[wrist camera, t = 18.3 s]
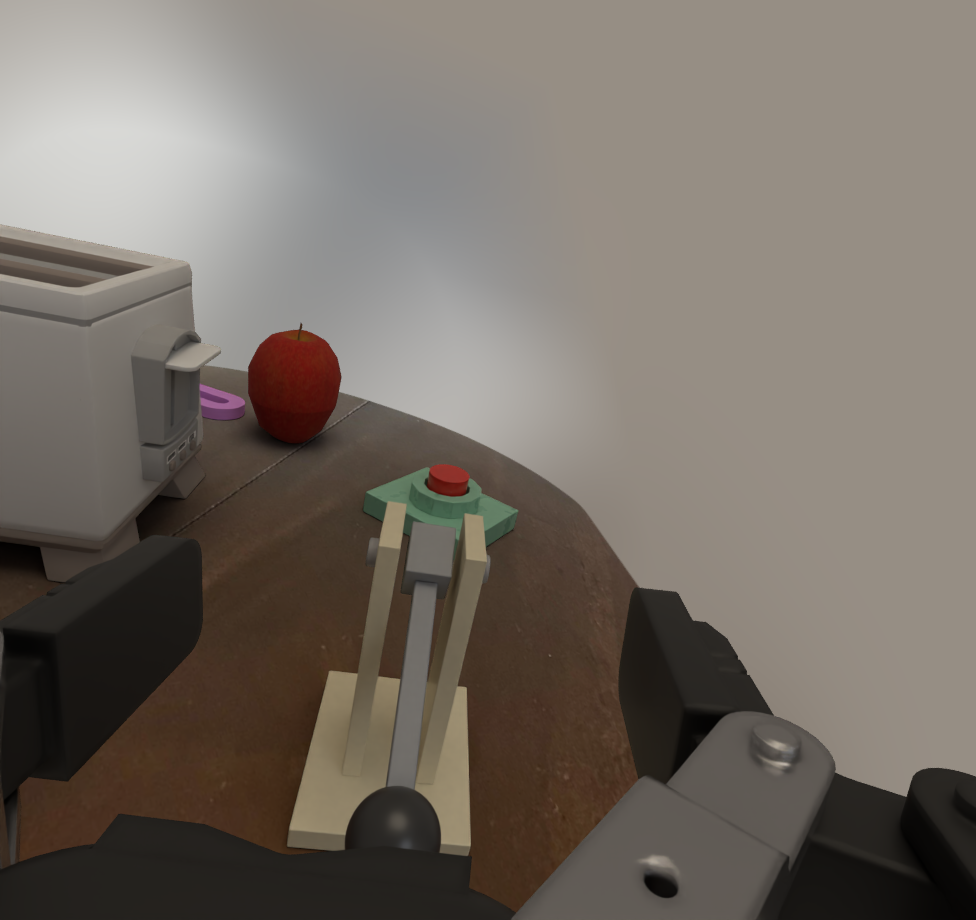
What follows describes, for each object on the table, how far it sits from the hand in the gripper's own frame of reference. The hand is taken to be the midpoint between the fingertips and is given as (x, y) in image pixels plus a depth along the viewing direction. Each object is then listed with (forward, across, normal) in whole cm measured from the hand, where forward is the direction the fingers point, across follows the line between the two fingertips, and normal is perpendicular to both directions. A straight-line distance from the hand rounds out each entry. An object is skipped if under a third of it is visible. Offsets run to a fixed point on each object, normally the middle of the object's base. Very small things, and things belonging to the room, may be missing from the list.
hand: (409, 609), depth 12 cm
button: (+50, +4, +13) cm, 52 cm away
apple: (+62, +24, +12) cm, 68 cm away
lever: (+15, +2, +12) cm, 19 cm away
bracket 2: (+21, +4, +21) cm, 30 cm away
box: (+50, +5, +16) cm, 53 cm away
